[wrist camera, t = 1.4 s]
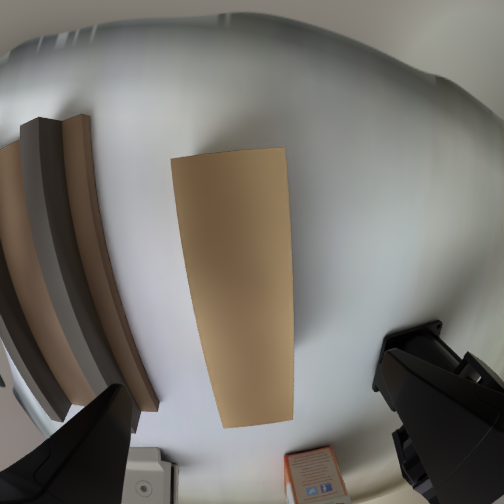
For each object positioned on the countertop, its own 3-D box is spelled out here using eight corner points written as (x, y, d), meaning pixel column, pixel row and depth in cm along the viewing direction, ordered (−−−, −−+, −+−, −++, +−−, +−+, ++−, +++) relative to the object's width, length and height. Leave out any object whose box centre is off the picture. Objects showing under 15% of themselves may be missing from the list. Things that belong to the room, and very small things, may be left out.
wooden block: (262, 153, 15) (285, 147, 9) (276, 357, 19) (293, 419, 13) (190, 161, 15) (170, 159, 9) (221, 364, 19) (223, 428, 13)
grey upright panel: (160, 447, 22) (170, 529, 14) (179, 454, 25) (189, 526, 17) (56, 441, 22) (55, 504, 14) (78, 451, 25) (80, 509, 17)
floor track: (89, 116, 13) (60, 107, 9) (159, 403, 20) (153, 434, 16) (-22, 166, 12) (-51, 171, 9) (53, 393, 19) (40, 417, 15)
